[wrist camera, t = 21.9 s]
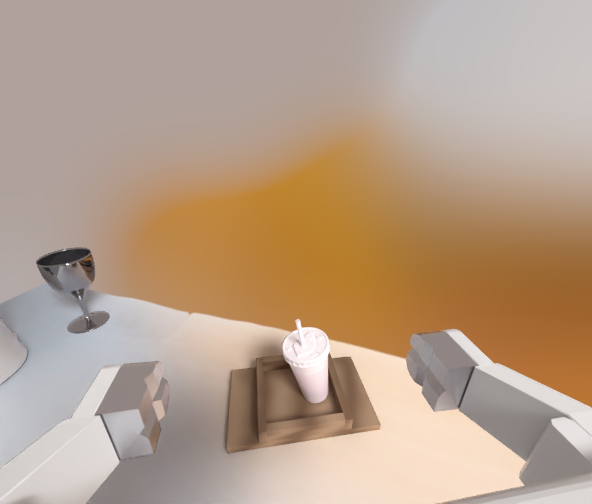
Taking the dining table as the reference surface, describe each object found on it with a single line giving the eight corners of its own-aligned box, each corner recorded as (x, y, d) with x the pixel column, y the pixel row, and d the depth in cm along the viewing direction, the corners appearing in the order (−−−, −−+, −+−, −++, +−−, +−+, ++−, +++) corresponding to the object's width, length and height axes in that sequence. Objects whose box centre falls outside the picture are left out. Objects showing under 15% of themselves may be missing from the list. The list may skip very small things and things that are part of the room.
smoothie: (286, 404, 40) (265, 330, 34) (305, 368, 45) (289, 299, 39) (328, 418, 37) (312, 341, 31) (343, 379, 42) (332, 305, 36)
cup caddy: (227, 453, 34) (224, 437, 33) (232, 374, 45) (230, 361, 44) (379, 429, 37) (382, 414, 36) (350, 360, 48) (351, 347, 47)
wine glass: (119, 309, 61) (99, 247, 54) (98, 333, 53) (72, 265, 47) (81, 310, 60) (57, 247, 54) (54, 335, 53) (23, 266, 47)
